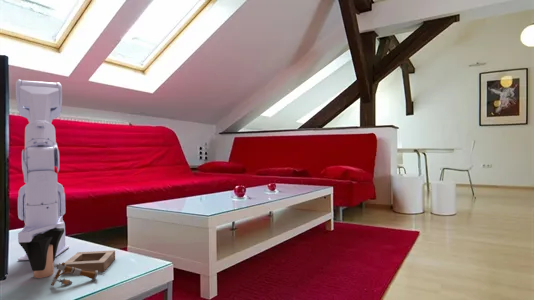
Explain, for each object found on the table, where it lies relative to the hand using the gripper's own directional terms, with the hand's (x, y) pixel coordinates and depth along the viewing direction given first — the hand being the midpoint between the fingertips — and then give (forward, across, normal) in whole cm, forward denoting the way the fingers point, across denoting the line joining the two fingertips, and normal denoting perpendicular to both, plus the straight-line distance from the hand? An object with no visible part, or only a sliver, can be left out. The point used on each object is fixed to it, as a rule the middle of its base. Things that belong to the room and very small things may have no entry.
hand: (43, 266), depth 74 cm
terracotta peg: (+2, 0, 0) cm, 2 cm away
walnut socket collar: (+2, +4, -8) cm, 9 cm away
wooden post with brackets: (+2, -6, -9) cm, 11 cm away
